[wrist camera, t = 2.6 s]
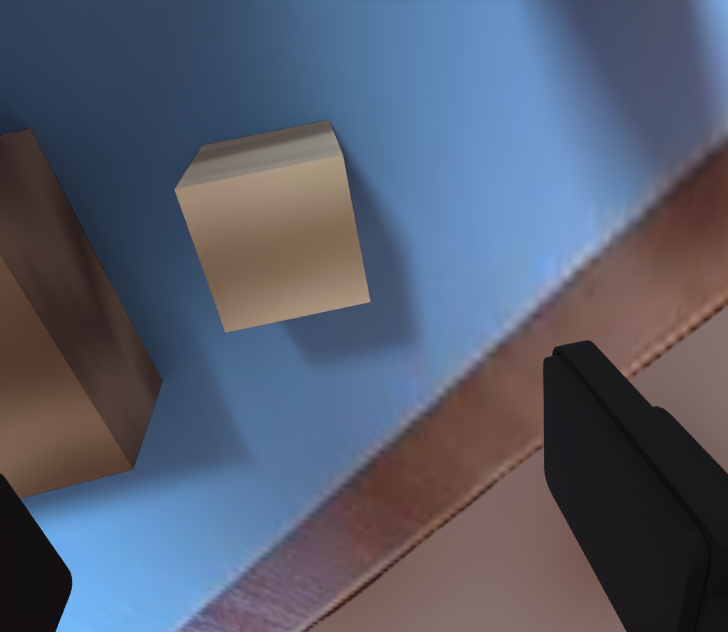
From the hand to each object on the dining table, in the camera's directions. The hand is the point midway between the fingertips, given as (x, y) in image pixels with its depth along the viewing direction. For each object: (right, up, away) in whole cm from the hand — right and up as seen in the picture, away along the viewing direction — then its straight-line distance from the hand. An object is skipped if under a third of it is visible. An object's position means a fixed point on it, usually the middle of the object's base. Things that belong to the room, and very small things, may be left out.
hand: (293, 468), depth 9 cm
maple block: (-2, +8, +13) cm, 15 cm away
